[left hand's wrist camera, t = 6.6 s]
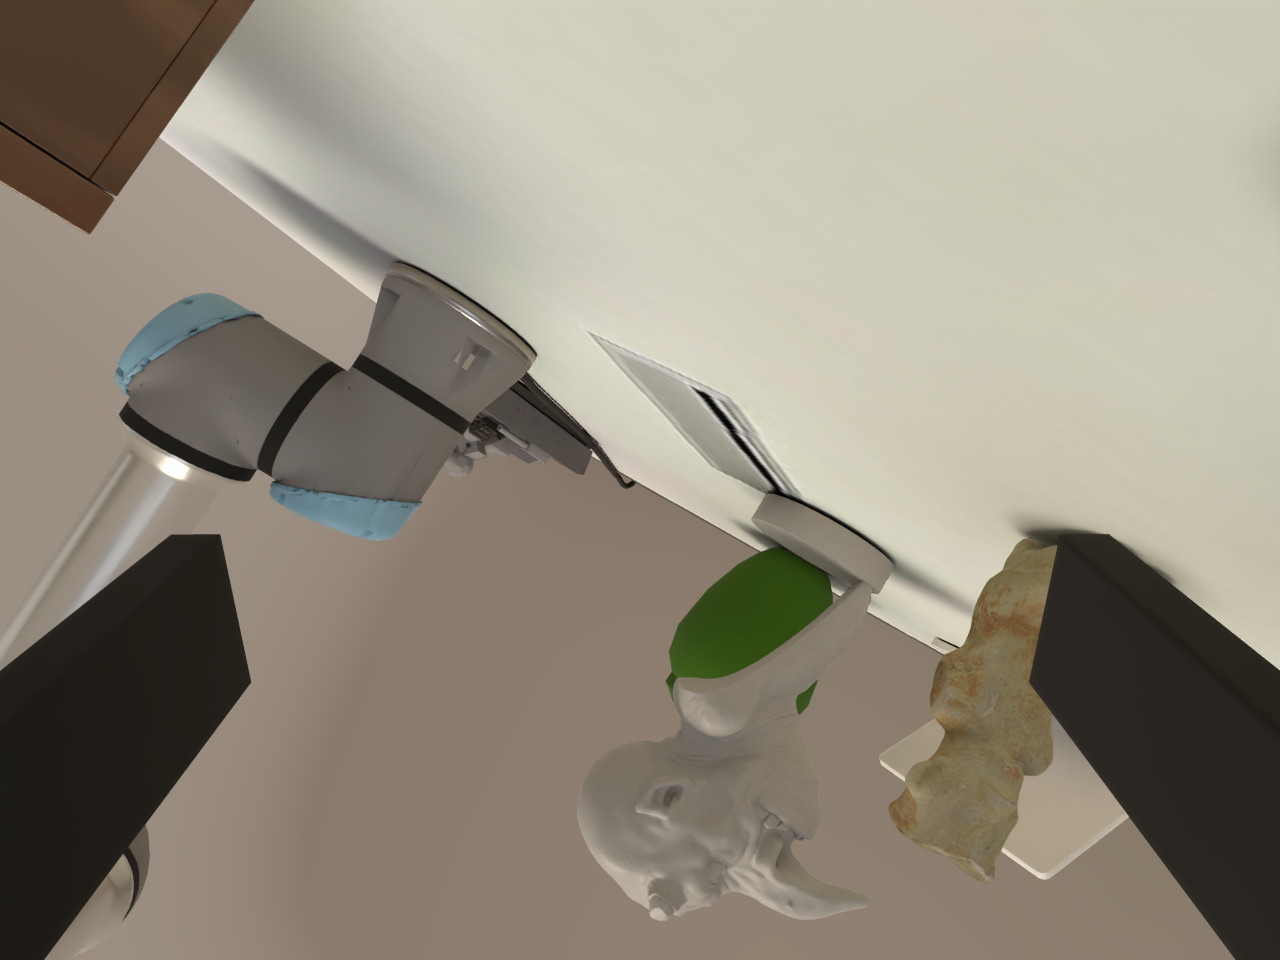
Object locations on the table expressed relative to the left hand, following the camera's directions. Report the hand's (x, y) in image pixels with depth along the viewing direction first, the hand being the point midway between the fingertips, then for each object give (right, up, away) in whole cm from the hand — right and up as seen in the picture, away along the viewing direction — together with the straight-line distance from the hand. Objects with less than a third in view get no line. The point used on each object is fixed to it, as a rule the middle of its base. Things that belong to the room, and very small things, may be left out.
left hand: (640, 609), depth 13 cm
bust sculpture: (+20, -4, +57) cm, 60 cm away
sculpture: (+21, -1, +24) cm, 32 cm away
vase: (+22, -9, +95) cm, 97 cm away
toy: (-19, +16, +102) cm, 105 cm away
